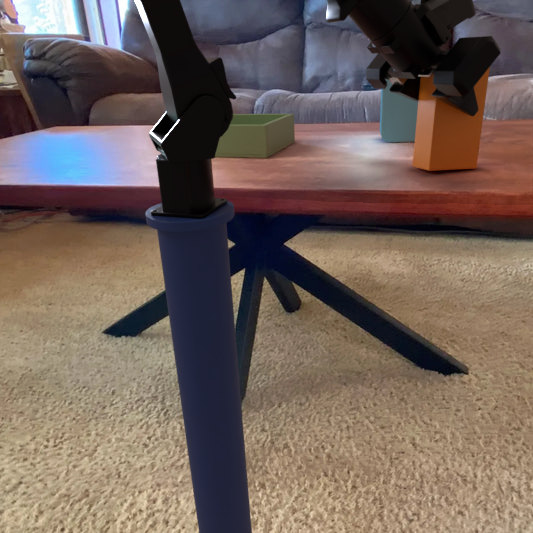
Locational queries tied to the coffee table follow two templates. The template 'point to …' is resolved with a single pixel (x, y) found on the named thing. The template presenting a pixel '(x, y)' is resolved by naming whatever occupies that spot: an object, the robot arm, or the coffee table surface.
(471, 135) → the block
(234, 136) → the open box
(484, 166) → the coffee table surface
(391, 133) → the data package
